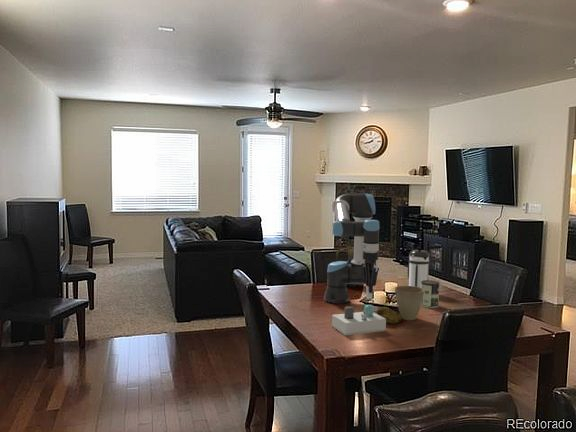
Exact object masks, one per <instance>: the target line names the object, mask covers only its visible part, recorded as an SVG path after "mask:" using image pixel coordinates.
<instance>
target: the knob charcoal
mask: <svg viewBox="0 0 576 432" xmlns="http://www.w3.org/2000/svg"><path fill="white" fill-rule="evenodd" d="M354 311H355V308H354V307H353V306H345V307H344V313H343V314H344V318H345V319H353V318H354V313H355V312H354Z"/></svg>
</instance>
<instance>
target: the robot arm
mask: <svg viewBox="0 0 576 432" xmlns="http://www.w3.org/2000/svg"><path fill="white" fill-rule="evenodd" d="M332 212H333V213H334V218H335V221H333V222H332V235H333V236H334V237H354V239H353V243H354V244H353V245H354V259H353V260H352V261H351V264H347V262H346V261H343V260H339V261H338V260H337V261H332V262H330V263H329V264H328V265H327V270H326V273H327V280H326V281H327V283H326V285H327V286H326V289H325V292H324V296H323V301H324V300H325V301H324V302H326V301H328V302H327V303H329V302H332V303H331V304H346V303H345V302H347V303H349V302H350V296H349V292H348V288H347V284H357V285H365V286H366V287H365V299H366V300H372V299H373V292H374V291H373V290H374V287H375V286H376V285H377V280H378V275H379V274H378V273H379V271H380V268H379V267H377V261H378V260H379V249H380V246H379V245H380V243H379V241H380V236H379V235H380V228H381V227H380V221H379V220H377V219H372V218H373V215H376V202H375V197H374V195H373V194H372V193H371V194H370V193H344V194H342V195H339V196H338V197H337V198H336V199H335V200H334V201H333V203H332ZM350 214H352V218H353V219H354V221H351V219H350ZM348 301H349V302H348Z"/></svg>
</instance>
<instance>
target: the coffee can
mask: <svg viewBox="0 0 576 432" xmlns="http://www.w3.org/2000/svg"><path fill="white" fill-rule="evenodd" d="M421 288H422V289H424V295H423V300H422V303H421V307H423V308H428V309H436V308H439V301H440V299H439V298H440V282H439V281H436V280H430V279H428V280H424V281H421Z"/></svg>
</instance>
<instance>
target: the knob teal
mask: <svg viewBox="0 0 576 432" xmlns="http://www.w3.org/2000/svg"><path fill="white" fill-rule="evenodd" d="M363 307H364V309H363V310H364V311H363V312H365V313H367V317H373V312H374V305H373V304H365V305H364V306H363Z"/></svg>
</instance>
